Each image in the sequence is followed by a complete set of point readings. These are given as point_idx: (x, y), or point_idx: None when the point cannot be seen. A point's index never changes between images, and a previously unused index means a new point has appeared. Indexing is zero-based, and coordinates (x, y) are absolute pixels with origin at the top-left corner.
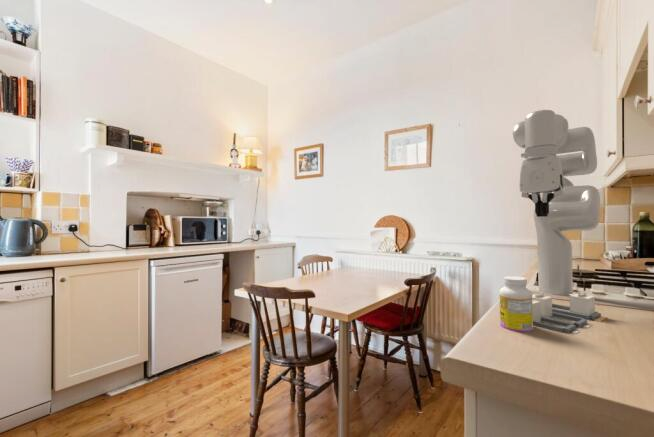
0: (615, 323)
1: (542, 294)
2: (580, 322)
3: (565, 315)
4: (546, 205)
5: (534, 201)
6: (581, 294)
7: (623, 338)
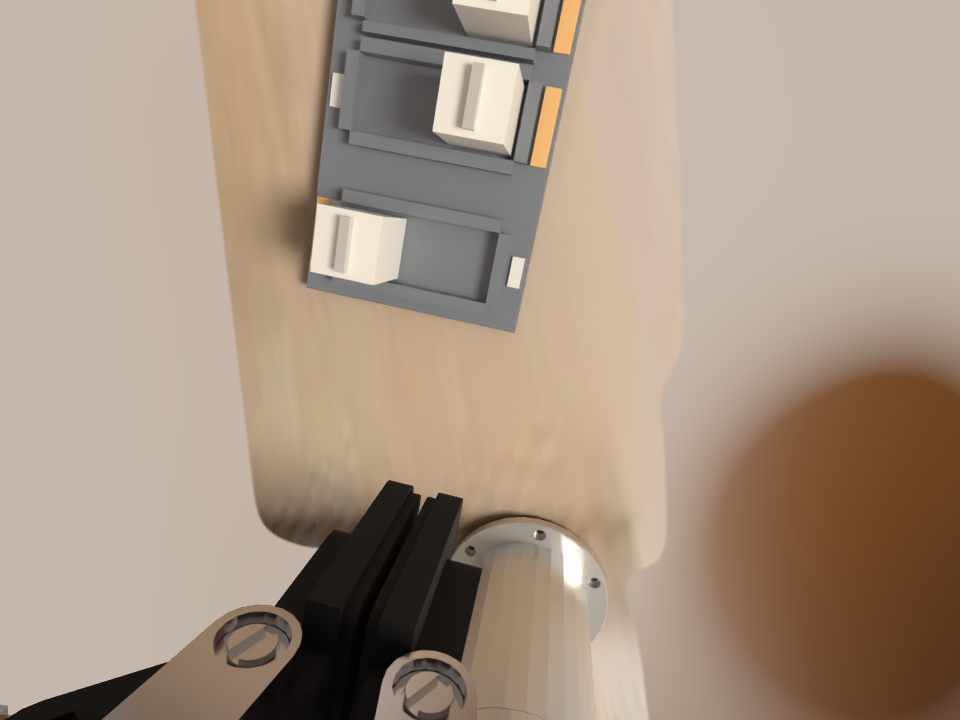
0: (301, 278)
1: (464, 113)
2: (346, 71)
3: (403, 141)
4: (281, 601)
5: (446, 690)
6: (340, 226)
7: (259, 106)
